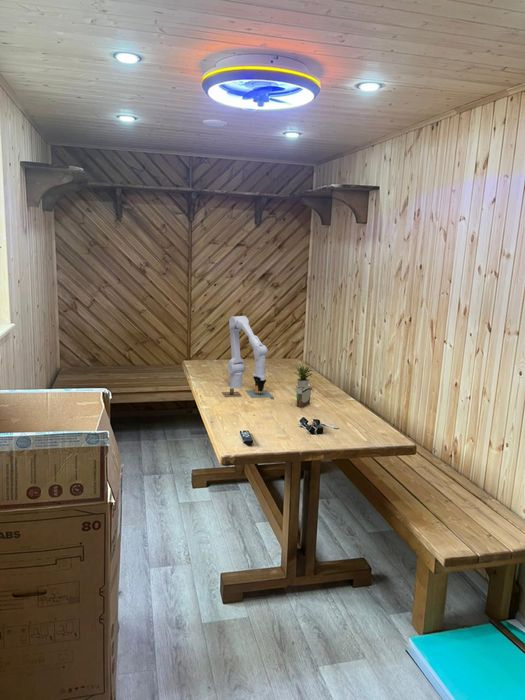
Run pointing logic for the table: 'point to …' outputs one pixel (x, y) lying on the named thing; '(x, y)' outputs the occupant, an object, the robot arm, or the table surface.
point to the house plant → (303, 375)
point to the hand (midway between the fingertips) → (259, 390)
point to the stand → (231, 393)
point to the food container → (303, 396)
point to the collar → (257, 389)
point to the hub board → (259, 394)
